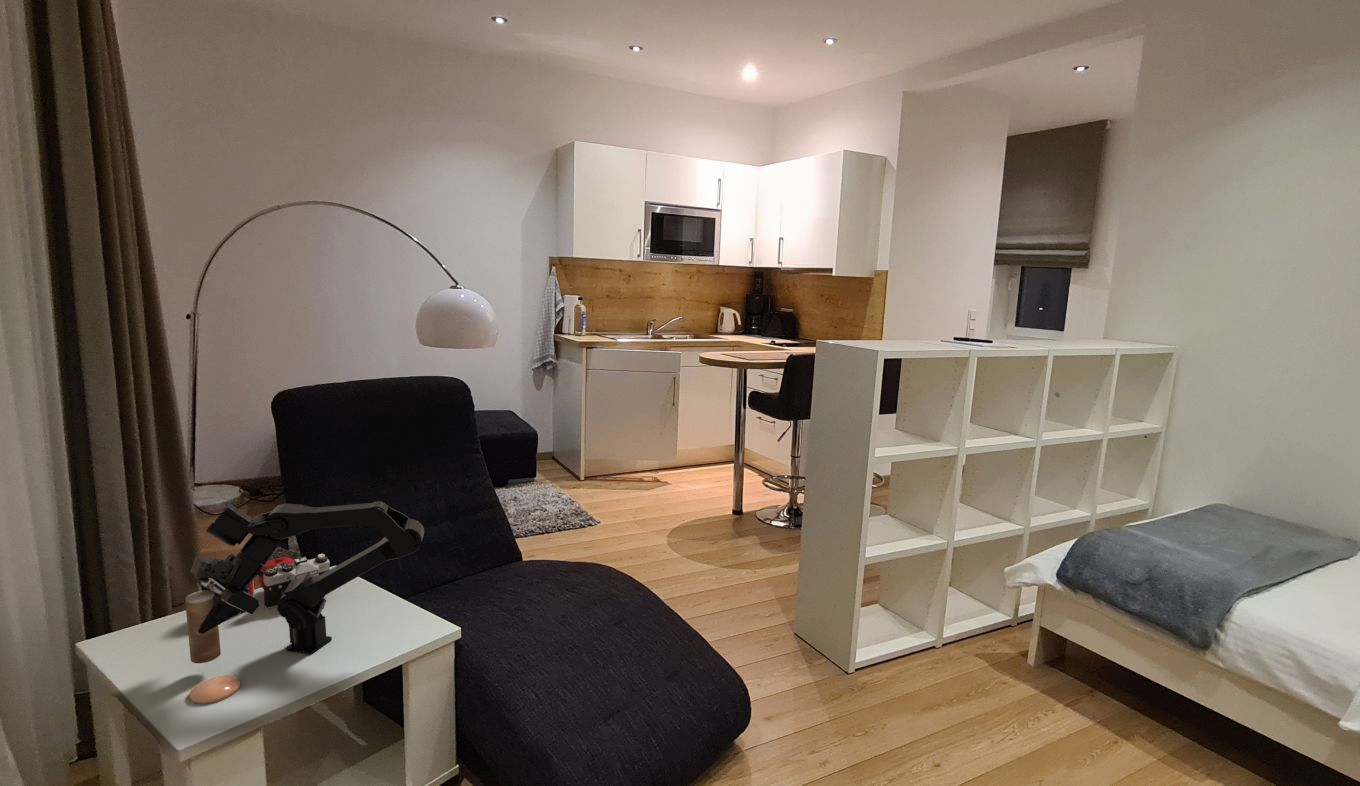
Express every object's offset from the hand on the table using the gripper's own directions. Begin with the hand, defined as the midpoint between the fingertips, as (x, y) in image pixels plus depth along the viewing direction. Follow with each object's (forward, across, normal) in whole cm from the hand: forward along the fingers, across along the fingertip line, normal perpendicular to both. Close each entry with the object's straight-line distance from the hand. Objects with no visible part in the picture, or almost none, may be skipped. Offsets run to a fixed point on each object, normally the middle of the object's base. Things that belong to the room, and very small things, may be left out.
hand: (194, 628), depth 138 cm
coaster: (+7, +8, +7) cm, 13 cm away
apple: (-11, -27, +26) cm, 39 cm away
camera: (-12, -17, +27) cm, 34 cm away
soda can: (-4, -25, +18) cm, 31 cm away
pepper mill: (+4, 0, +6) cm, 7 cm away
